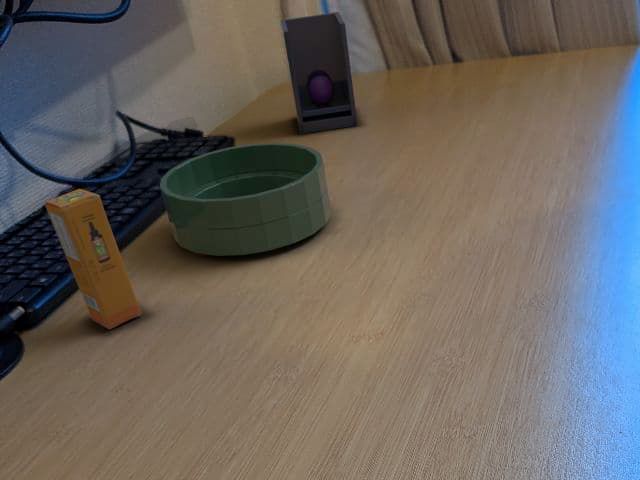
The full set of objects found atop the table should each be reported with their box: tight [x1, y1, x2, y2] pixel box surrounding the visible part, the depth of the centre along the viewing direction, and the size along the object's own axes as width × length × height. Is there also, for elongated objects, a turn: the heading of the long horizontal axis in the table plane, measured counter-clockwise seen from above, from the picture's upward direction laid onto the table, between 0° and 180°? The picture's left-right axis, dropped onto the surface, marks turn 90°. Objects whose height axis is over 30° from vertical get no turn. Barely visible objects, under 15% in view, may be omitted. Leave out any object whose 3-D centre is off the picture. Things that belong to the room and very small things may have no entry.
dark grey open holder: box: [279, 11, 359, 135], centre depth 101 cm, size 7×7×11 cm
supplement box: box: [44, 188, 142, 330], centre depth 65 cm, size 3×3×10 cm
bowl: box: [159, 142, 332, 257], centre depth 78 cm, size 15×15×6 cm
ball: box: [309, 76, 334, 105], centre depth 103 cm, size 3×3×3 cm
